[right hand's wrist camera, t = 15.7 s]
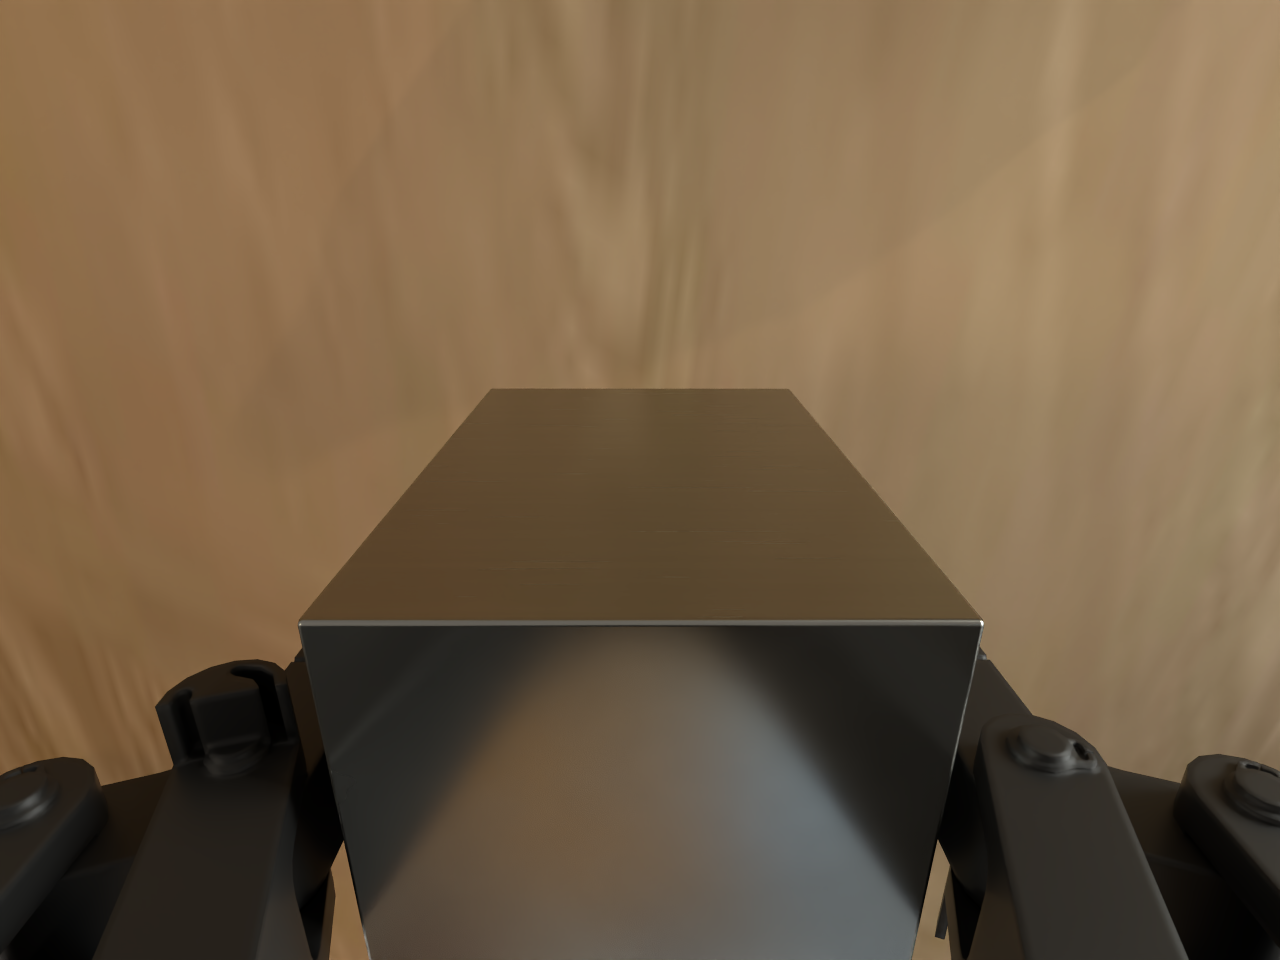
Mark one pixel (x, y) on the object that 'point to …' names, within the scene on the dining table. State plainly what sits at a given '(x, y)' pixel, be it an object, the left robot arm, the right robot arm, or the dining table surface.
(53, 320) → the dining table surface
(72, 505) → the dining table surface
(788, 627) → the bar
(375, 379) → the dining table surface
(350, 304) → the dining table surface
